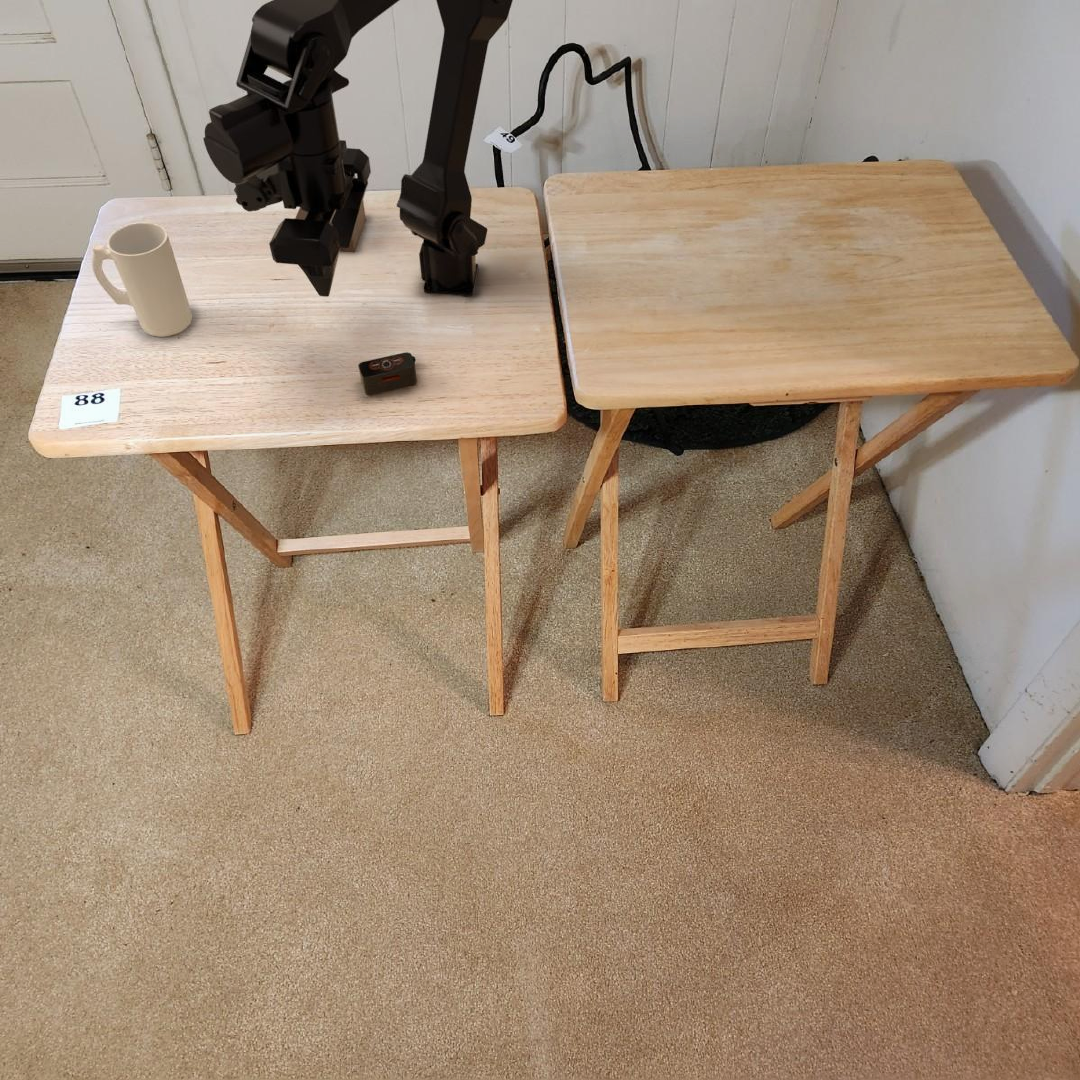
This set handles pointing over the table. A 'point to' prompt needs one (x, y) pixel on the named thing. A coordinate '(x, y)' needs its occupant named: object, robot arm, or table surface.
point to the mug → (146, 277)
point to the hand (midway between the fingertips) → (334, 270)
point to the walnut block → (357, 230)
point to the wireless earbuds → (388, 373)
